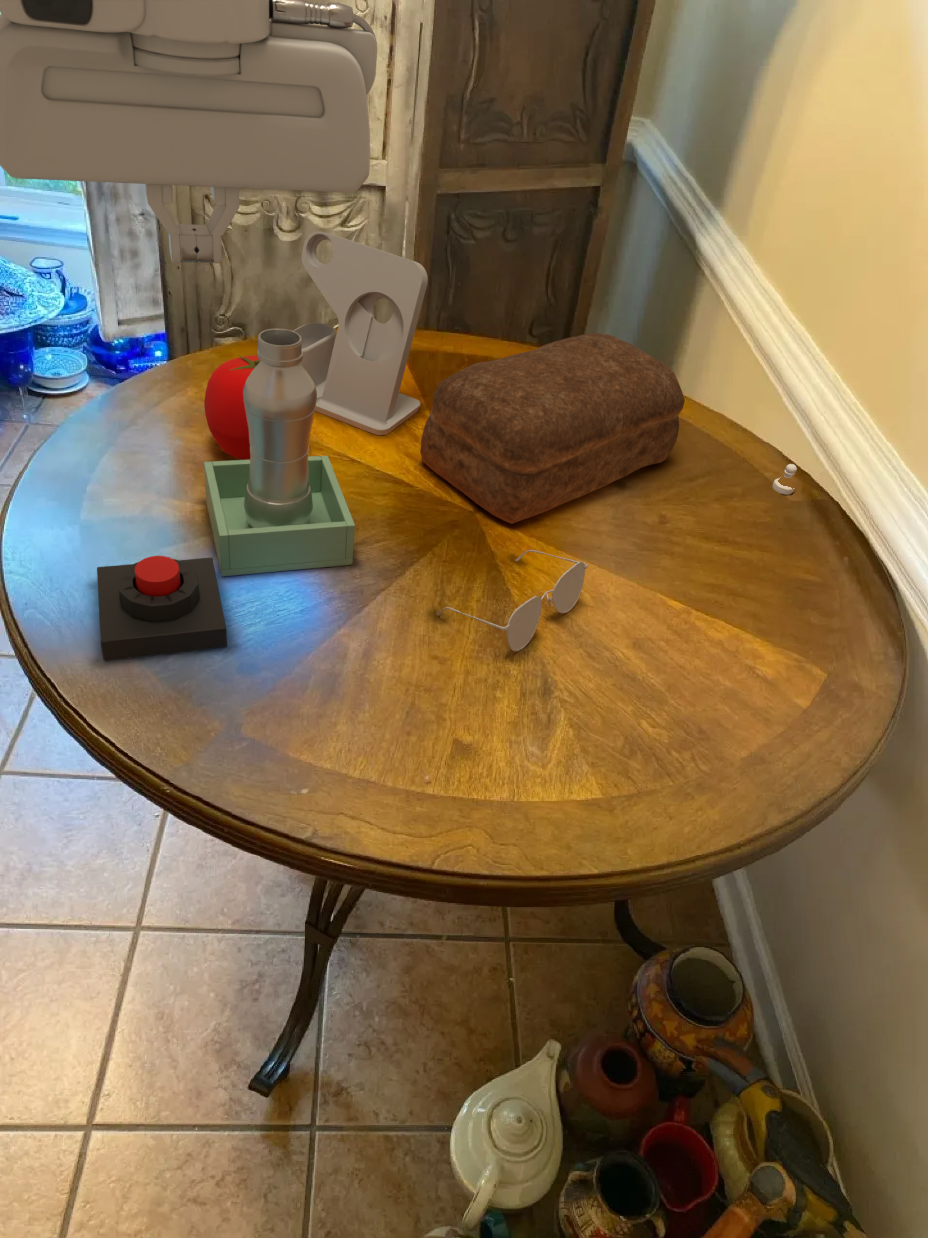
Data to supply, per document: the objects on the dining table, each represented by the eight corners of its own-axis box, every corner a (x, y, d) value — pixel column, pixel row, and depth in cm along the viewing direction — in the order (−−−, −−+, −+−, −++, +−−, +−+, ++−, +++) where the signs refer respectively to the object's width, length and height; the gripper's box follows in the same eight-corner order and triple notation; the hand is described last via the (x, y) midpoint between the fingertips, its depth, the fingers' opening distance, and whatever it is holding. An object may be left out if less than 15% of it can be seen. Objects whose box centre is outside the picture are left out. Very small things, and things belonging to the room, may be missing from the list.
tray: (221, 576, 86) (219, 535, 83) (206, 501, 95) (203, 461, 92) (352, 564, 90) (355, 525, 87) (326, 493, 99) (327, 455, 96)
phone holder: (263, 390, 114) (262, 243, 102) (311, 363, 121) (314, 223, 110) (382, 437, 109) (395, 289, 98) (424, 406, 116) (440, 264, 105)
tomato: (188, 460, 100) (182, 369, 93) (229, 417, 108) (226, 330, 101) (279, 483, 99) (279, 393, 92) (314, 438, 107) (317, 352, 100)
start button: (137, 599, 77) (135, 583, 76) (135, 573, 79) (133, 557, 78) (182, 595, 78) (181, 579, 77) (178, 569, 80) (177, 553, 79)
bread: (679, 462, 115) (711, 364, 106) (504, 536, 97) (526, 426, 89) (581, 402, 123) (604, 307, 115) (404, 461, 106) (416, 354, 97)
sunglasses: (504, 663, 82) (506, 618, 79) (432, 629, 86) (431, 585, 84) (586, 597, 91) (590, 554, 88) (517, 569, 95) (519, 527, 93)
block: (103, 661, 76) (97, 625, 73) (99, 585, 83) (94, 550, 80) (227, 647, 79) (225, 612, 76) (213, 575, 86) (211, 541, 83)
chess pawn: (770, 490, 112) (780, 466, 110) (773, 481, 114) (783, 456, 112) (791, 497, 112) (802, 472, 109) (793, 487, 114) (804, 463, 111)
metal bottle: (236, 513, 93) (231, 323, 80) (301, 504, 95) (306, 319, 82) (254, 550, 88) (250, 356, 75) (321, 539, 91) (329, 351, 78)
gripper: (366, -4, 52) (352, 244, 61) (-37, -49, 45) (15, 236, 54) (394, 18, 48) (375, 281, 56) (-46, -28, 41) (11, 278, 50)
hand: (196, 259), depth 55 cm, fingers closed
